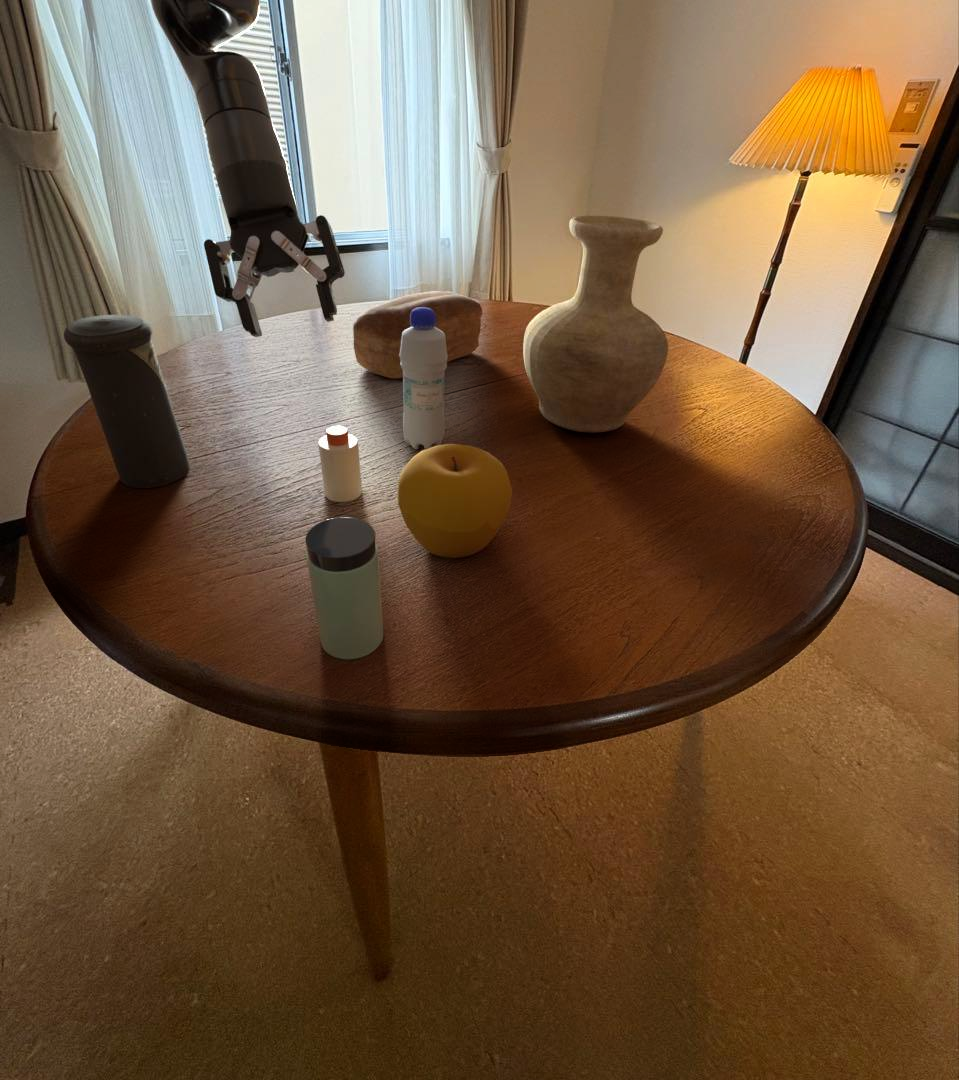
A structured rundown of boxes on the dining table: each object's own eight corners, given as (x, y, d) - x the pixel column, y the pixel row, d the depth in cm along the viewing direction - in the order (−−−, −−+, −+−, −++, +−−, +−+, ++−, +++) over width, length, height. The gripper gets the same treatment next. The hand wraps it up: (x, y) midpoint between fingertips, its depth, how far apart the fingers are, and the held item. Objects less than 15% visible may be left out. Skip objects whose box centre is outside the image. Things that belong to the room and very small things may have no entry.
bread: (489, 353, 121) (493, 293, 114) (396, 388, 103) (393, 319, 96) (441, 338, 128) (441, 280, 120) (345, 368, 109) (339, 302, 102)
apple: (386, 521, 69) (381, 437, 62) (481, 502, 74) (486, 423, 67) (420, 586, 60) (419, 497, 53) (526, 560, 65) (538, 475, 58)
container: (206, 469, 77) (164, 318, 65) (144, 498, 70) (85, 337, 58) (166, 451, 80) (120, 304, 68) (104, 477, 74) (41, 320, 62)
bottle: (406, 455, 83) (402, 315, 71) (399, 435, 88) (394, 301, 76) (450, 452, 85) (453, 314, 73) (440, 432, 90) (442, 300, 78)
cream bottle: (325, 504, 72) (317, 440, 66) (324, 484, 75) (316, 423, 70) (363, 500, 73) (358, 437, 67) (360, 481, 77) (355, 420, 71)
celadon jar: (321, 664, 51) (304, 562, 44) (319, 618, 56) (302, 519, 48) (387, 653, 52) (381, 553, 45) (379, 609, 57) (372, 512, 50)
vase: (517, 447, 87) (540, 229, 69) (514, 391, 105) (532, 206, 87) (661, 456, 87) (721, 241, 69) (633, 399, 105) (676, 216, 87)
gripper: (171, 172, 57) (219, 336, 61) (307, 143, 57) (348, 308, 61) (203, 201, 65) (244, 345, 68) (323, 175, 65) (359, 320, 68)
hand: (293, 328), depth 64 cm, fingers open, 8 cm apart
